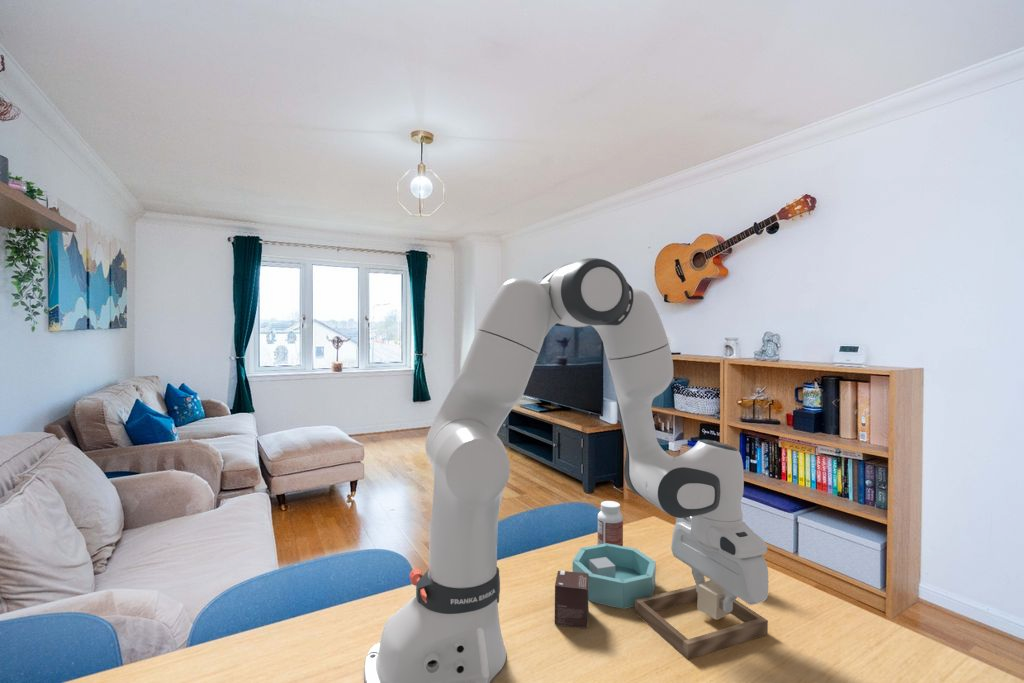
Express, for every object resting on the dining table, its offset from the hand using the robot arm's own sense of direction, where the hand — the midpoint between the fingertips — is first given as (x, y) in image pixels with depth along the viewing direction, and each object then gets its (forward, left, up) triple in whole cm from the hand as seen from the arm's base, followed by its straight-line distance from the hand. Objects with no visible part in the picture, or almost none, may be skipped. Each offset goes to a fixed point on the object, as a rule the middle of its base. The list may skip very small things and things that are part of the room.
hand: (713, 601), depth 89 cm
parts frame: (-3, 0, -3) cm, 5 cm away
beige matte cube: (0, 0, -2) cm, 2 cm away
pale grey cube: (-13, +17, -3) cm, 22 cm away
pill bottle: (-1, +32, -4) cm, 32 cm away
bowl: (-10, +17, -3) cm, 20 cm away
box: (-24, +10, -4) cm, 27 cm away
